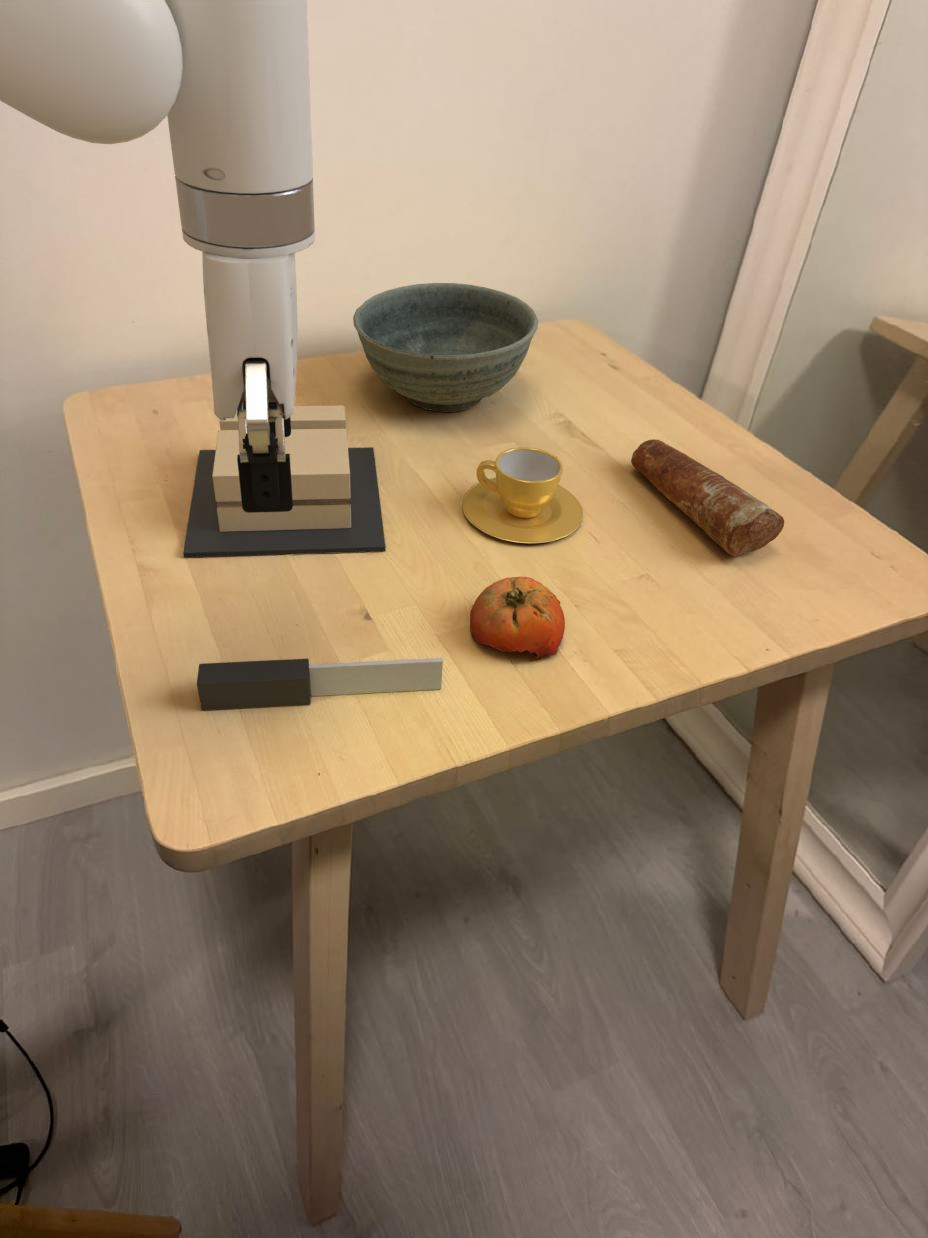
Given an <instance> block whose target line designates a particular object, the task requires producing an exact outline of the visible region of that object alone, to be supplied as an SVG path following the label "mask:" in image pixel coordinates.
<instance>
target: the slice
mask: <svg viewBox="0 0 928 1238" xmlns="http://www.w3.org/2000/svg"><path fill="white" fill-rule="evenodd" d="M345 407H346V406H345V405H294V413H293V414H292V415H291V416H290V419H291V429H346V430H347V420H346V408H345ZM219 428H220V429H219V430H238V417H237V412H236V414H235V417H234V418H226V420H225V421H224V420H220V419H219Z"/></svg>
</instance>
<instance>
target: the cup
mask: <svg viewBox="0 0 928 1238" xmlns="http://www.w3.org/2000/svg"><path fill="white" fill-rule="evenodd" d="M485 470H490V471H493V472H494V473H495V476H494V477H491V478H489V477H487V475H486V473H485ZM563 470H564V466H563V463H562V461H561V460H560V459H559V458H558V457H557V456H555V454H553V453H551V452H549V451H547V450H543V449H540V448H536V447H528V446H525V447H523V446H521V447H520V446H519V447H513V448H509V449H506V450H504V451H502V452H501V453H499V454H497V456H496V458H495V460H487V459H485V460H482V461H481V462H480V463H479V464H478V466H477V467H476V478H477V481H478V483H476V484H474V485H472V487H470V488H469V489H468V490H467V491H466V493H465V494H464V496H463V498H462V503H461V507H462V511H463V514H464V516H465V518H466V519H467V520H468V522H469V523H470V524H472V525H473V526H474V527H475V528H477V529H478V530H480V531H481V532H483V533H484V534H487V535H489V536H491V537H494V538H497V539H500V540H503V541H508V542H513V543H520V544H541V543H542V544H543V543H549V542H555V541H557V540H560V539H563V538H565V537H567V536H569V535H571V534H572V533H574V532H575V531H576V530H577V529H578V528H579V527H580V525H581V524H582V522H583V518H584V510H583V506H582V505H581V503H580V501H579V499H578V498H577V497H576V496H575V495H574V494H573V493H571V492H570V491H569V490H568V489H566V488H564V487H563V486H561V485H560V481H561V479H562V476H563V475H562V474H563V472H564V471H563Z"/></svg>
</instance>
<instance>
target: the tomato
mask: <svg viewBox="0 0 928 1238" xmlns="http://www.w3.org/2000/svg"><path fill="white" fill-rule="evenodd" d="M469 626H470V628H469V629H470V634H471V638H472V639H473V640H474V641H475V642H476V643H478V644H480V645H481V644H482V645H485V646H490V647H492V648H494V649H497V650H499V651H500V652H503V653H504V652H506V651H507V652H508V653H514V652H519V653H522V652H525V651H528V652H529V653H530V654H532V653H535V654H536V658H534V659H532V660H531V661H530V662H534V661H540V660H542V659H544V658H546V657H549V656H556V655H557V652H558V650H559V648H560V645H561V643H562V640H563V638H564V634H565V629H566V619H565V613H564V611H563V608H562V606H561V601H560V600H559V599H558V598H557V595H555V594H554V593H553V592H552V591H551V590H550V589H549V587H547V586H545V585H544V584H543V583H542V582H539V581H538V580H535V579H534V578H532V577H530V576H529V577H528V576H512V577H504V578H501V579H499V580H497V581H495V582H493V583H491V584H490V585H488V586H486V587H485V588H484V589H483V590H482V591H481V592H480V593H479V595H478V596H477V598H476V600H475V601H474V602H473V604H472V607H471V609H470V613H469Z"/></svg>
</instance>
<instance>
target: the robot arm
mask: <svg viewBox="0 0 928 1238" xmlns="http://www.w3.org/2000/svg"><path fill="white" fill-rule="evenodd" d="M307 1H308V0H0V102H2V103H4V104H6V105H7V106H9V107H10V108H13V109H14V110H16V111H18V112H20V113H21V114H23V115H25V116H27V117H29V118H30V119H32V120H34V121H36V122H38V123H39V124H42V125H44V126H45V127H47V128H49V129H51V130H53V131H54V132H57V133H59V134H61V135H64V136H67V137H69V138H72V139H74V140H75V139H76V140H78V141H82V142H87V143H91V144H100V145H115V144H122V143H128V142H131V141H133V140H138V139H139V138H142V137H144V136H145V135H147V134H149V133H150V132H152V131H153V130H155V129H156V128H157V127H158V126H159V125H160V124H161V123H162V122H163V121H164V120H165V118H167V123H168V124H167V125H168V133H169V140H170V148H171V155H172V163H173V172H174V180H175V187H176V195H177V203H178V212H179V218H180V227H181V234H182V239H183V241H184V242H185V243H186V244H187V245H188V246H189V247H191V248H193V249H195V250H197V251H199V252H201V253H202V254H201V256H202V257H201V258H202V259H201V261H202V263H201V264H202V284H203V285H202V286H203V299H204V311H205V312H204V313H205V321H206V332H207V345H208V353H209V355H208V356H209V366H210V374H211V388H212V399H213V412H214V416H215V417H217V418H218V419H219V421H220V420H224V421H225V420H226V418H234V417H235V414H236V412H237V417H238V433H239V453H240V455H237V462H238V472H239V481H240V490H241V500H242V508H243V510H244V511H245V512H247V513H255V512H288V511H291V510H292V508H293V499H292V483H291V467H290V454H285V437H289V436H290V435H291V419H290V416H291V415H292V414H293V413H294V406H295V401H296V389H297V388H296V385H297V369H298V368H297V367H298V291H297V289H298V288H297V265H296V263H297V262H296V253H299V252H302V251H304V250H306V249H308V248H310V247H311V246H312V245H313V244H314V243H315V240H316V226H315V224H316V223H315V199H314V198H315V197H314V170H313V169H314V164H313V138H312V137H313V136H312V112H311V110H312V109H311V85H310V84H311V83H310V82H311V81H310V80H311V79H310V57H309V55H310V53H309V29H308V27H309V25H308V24H309V23H308V3H307ZM275 437H276V438H275Z"/></svg>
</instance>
